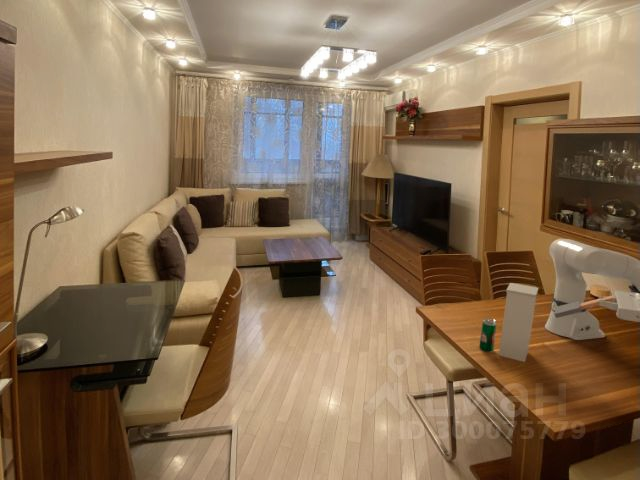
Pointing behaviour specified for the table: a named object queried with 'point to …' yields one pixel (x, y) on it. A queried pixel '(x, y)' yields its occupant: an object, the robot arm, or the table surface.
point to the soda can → (488, 335)
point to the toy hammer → (578, 306)
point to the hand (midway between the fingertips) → (599, 300)
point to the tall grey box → (517, 321)
